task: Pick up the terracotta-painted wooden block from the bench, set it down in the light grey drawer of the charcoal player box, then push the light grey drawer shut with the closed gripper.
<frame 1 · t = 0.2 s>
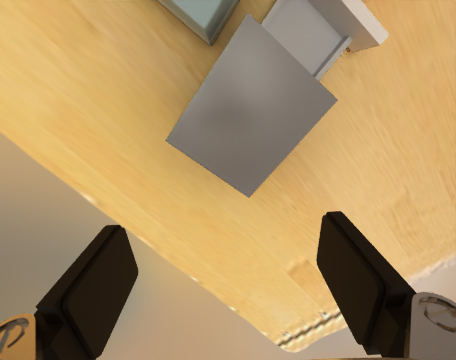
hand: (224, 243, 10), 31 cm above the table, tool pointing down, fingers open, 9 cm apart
housing: (242, 112, 37), on the table
light grey drawer: (289, 56, 30), point 4 cm above the table, slide at 8.0 cm
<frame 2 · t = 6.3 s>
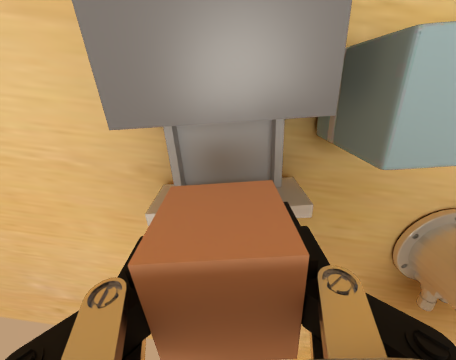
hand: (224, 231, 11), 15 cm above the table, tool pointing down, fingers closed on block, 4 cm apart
block: (225, 225, 11), point 15 cm above the table, touching gripper
housing: (216, 5, 19), on the table
light grey drawer: (223, 125, 19), point 4 cm above the table, slide at 8.0 cm
radio: (387, 97, 23), on the table
when the fingers open (4 cm above the table, at t = 8.8 s): block drops 1 cm, resting on light grey drawer.
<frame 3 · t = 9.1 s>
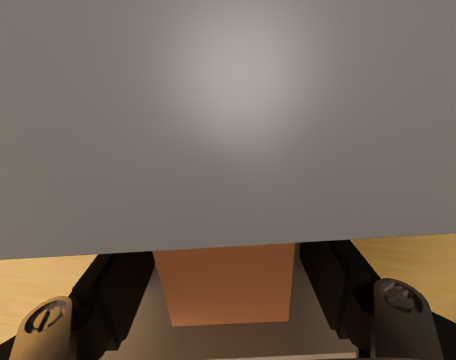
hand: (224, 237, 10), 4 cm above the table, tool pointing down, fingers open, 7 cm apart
block: (226, 211, 13), point 2 cm above the table, touching light grey drawer
light grey drawer: (219, 175, 9), point 4 cm above the table, slide at 8.0 cm, touching block
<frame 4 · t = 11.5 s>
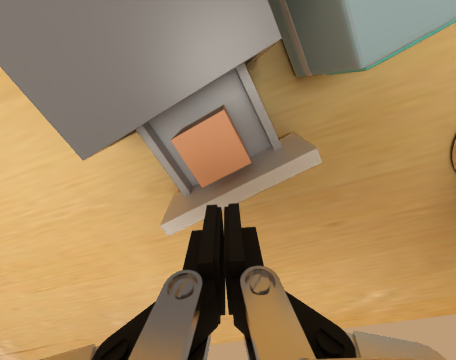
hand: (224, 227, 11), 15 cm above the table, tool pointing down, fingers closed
block: (214, 138, 22), point 2 cm above the table, touching light grey drawer
housing: (139, 4, 19), on the table
light grey drawer: (193, 111, 19), point 4 cm above the table, slide at 8.0 cm, touching block
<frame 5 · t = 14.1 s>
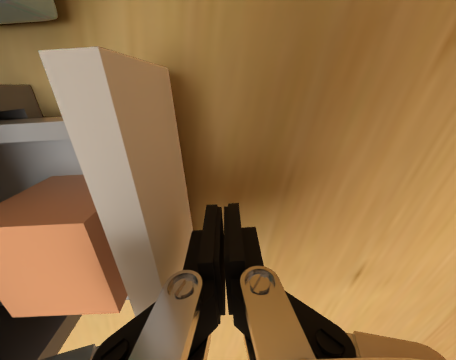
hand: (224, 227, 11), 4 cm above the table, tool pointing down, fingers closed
block: (106, 210, 13), point 2 cm above the table, touching light grey drawer
light grey drawer: (17, 240, 11), point 4 cm above the table, slide at 6.7 cm, touching block, gripper
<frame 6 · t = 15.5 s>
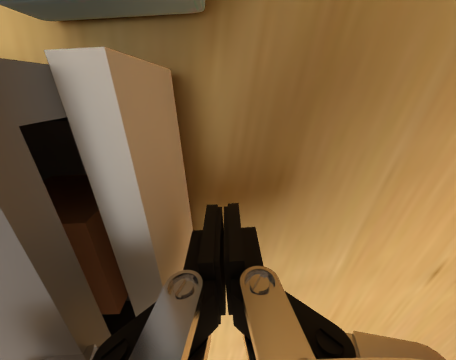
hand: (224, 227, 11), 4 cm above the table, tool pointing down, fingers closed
block: (106, 210, 13), point 2 cm above the table, touching light grey drawer
housing: (46, 201, 15), on the table
light grey drawer: (17, 240, 11), point 4 cm above the table, slide at -0.2 cm, touching block, gripper, housing
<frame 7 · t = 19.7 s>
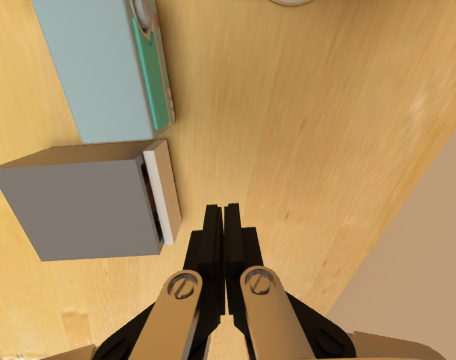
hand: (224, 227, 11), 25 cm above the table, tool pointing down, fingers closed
block: (144, 187, 36), point 2 cm above the table, touching light grey drawer
housing: (117, 184, 38), on the table
light grey drawer: (117, 195, 34), point 4 cm above the table, slide at 0.0 cm, touching block
radio: (145, 67, 30), on the table
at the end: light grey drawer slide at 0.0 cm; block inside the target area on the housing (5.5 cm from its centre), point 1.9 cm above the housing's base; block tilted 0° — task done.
